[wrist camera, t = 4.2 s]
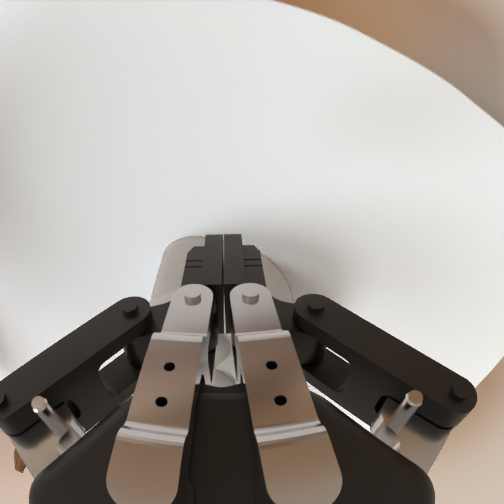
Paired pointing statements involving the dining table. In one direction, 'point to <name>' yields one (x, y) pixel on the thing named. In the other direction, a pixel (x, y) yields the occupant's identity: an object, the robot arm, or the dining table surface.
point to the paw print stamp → (275, 283)
